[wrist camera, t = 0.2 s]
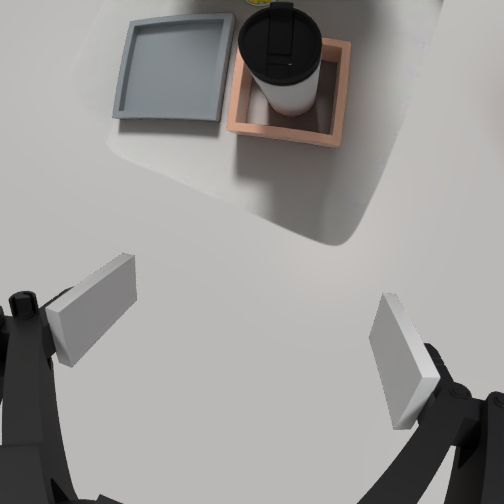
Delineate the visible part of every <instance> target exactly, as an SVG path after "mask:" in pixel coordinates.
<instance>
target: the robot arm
mask: <svg viewBox="0 0 504 504" xmlns="http://www.w3.org/2000/svg"><path fill="white" fill-rule="evenodd" d="M136 301H137V292H136V274H135V255H131V254H125V253H122V254H121V255H119V256H118V257H116V258H115V259H114V260H112V261H110V262H109V263H108V264H106V265H105V266H103V267H102V268H100V269H99V270H97V271H96V272H94V273H93V274H91V275H90V276H89V277H87V278H86V279H84V280H83V281H82V282H80V283H79V284H77V285H76V286H73V287H71V288H68V289H65V290H64V291H63V292H61V293H60V294H59V295H57V296H55V297H54V298H53V299H51V300H50V301H49V302H47V303H46V304H44V305H43V306H42V307H41V308H38V304H37V299H36V294H35V293H33V292H30V291H21V292H17V293H15V294H13V295H12V296H11V297H10V298H9V304H10V308H11V312H12V315H13V316H5V315H4V312H3V309H2V307H1V306H0V404H1V401H2V399H3V405H2V406H3V407H2V445H0V504H122V503H120V502H117V501H115V500H113V499H110V498H108V497H105V496H103V495H101V494H100V495H99V497H98V499H97V500H96V501H95V500H87V499H78V497H77V495H76V493H75V491H74V488H73V485H72V482H71V477H70V474H69V469H68V465H67V460H66V456H65V451H64V446H63V441H62V435H61V429H60V423H59V417H58V410H57V401H56V392H55V382H54V370H53V361H52V358H51V356H52V355H53V354H54V353H55V352H56V354H57V357H58V360H59V363H62V364H64V365H67V366H69V367H71V368H72V367H73V366H74V365H75V364H76V363H77V362H78V361H79V360H80V358H82V357H83V356H84V354H85V353H86V352H87V351H88V350H89V349H90V348H91V347H92V346H93V345H94V344H95V343H96V342H97V341H98V340H99V339H100V338H101V336H102V335H103V334H104V333H105V332H106V331H107V330H108V329H109V328H110V327H111V326H112V325H113V324H114V323H115V322H116V321H117V320H118V319H119V318H120V317H121V316H122V315H123V314H124V313H125V312H126V311H127V310H128V308H129V307H131V306H132V305H133V304H134V302H136ZM369 339H370V343H371V346H372V350H373V353H374V357H375V360H376V363H377V367H378V371H379V374H380V378H381V381H382V385H383V389H384V393H385V396H386V401H387V404H388V409H389V413H390V416H391V421H392V425H393V429H395V430H402V429H411V428H412V426H413V425H414V423H415V421H416V420H418V424H419V426H418V428H417V429H416V431H415V432H414V434H413V435H412V437H411V438H410V440H409V441H408V442H407V444H406V445H405V447H404V448H403V449H402V450H401V452H400V453H399V454H398V456H397V457H396V458H395V460H394V461H393V462H392V464H391V465H390V466H389V467H388V469H387V470H386V471H385V472H384V474H383V475H382V476H381V477H380V478H379V480H378V481H377V482H376V483H375V484H374V485H373V487H372V488H371V489H370V490H369V491H368V492H367V493H366V494H365V495H364V497H363V498H362V499H361V500H360V501H359V502H358V503H357V504H417V502H418V501H419V499H420V498H421V496H422V495H423V493H424V492H425V490H426V489H427V487H428V485H429V484H430V482H431V480H432V479H433V477H434V475H435V474H436V472H437V470H438V468H439V467H440V465H441V463H442V461H443V459H444V458H445V456H446V454H447V452H448V450H449V448H450V446H451V445H453V446H456V450H455V456H454V461H453V467H452V471H451V476H450V481H449V485H448V489H447V494H446V497H445V501H444V504H504V393H501V392H496V391H495V392H491V393H490V394H489V396H488V397H487V399H486V400H480V399H476V398H472V395H471V393H470V391H469V390H468V389H467V388H466V387H465V386H463V385H462V384H459V383H456V382H454V381H453V379H452V377H451V375H450V374H449V371H448V370H447V367H446V366H445V365H444V362H443V360H442V359H441V356H440V355H439V353H438V351H437V350H436V349H435V348H434V347H433V346H432V345H431V344H429V343H423V342H422V340H421V338H420V336H419V334H418V332H417V331H416V329H415V327H414V325H413V323H412V321H411V320H410V318H409V316H408V314H407V312H406V311H405V309H404V307H403V305H402V304H401V302H400V300H399V298H398V297H397V295H396V294H390V293H383V294H382V297H381V301H380V304H379V307H378V311H377V314H376V317H375V320H374V324H373V327H372V330H371V333H370V336H369Z"/></svg>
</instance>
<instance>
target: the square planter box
mask: <svg viewBox="0 0 504 504" xmlns="http://www.w3.org/2000/svg"><path fill="white" fill-rule="evenodd" d="M350 53H351V42H348V41H343V40H337V39H331V38H325V37H322V51H321V55H322V56H321V60H325V61H331V62H337V63H338V64H337V74H336V83H335V92H334V101H333V110H332V118H331V126H330V133H329V135H328V134H322V133H316V132H310V131H303V130H297V129H290V128H282V127H274V126H266V125H257V124H248V123H246V118H247V110H248V103H249V96H250V89H251V81H252V74H251V73H250V71H249V69H248V67H247V65H246V64H245V62H244V61H243V59H242V57H241V55H240V52H239V48H238V49H237V55H236V62H235V68H234V75H233V81H232V88H231V95H230V102H229V110H228V117H227V124H226V130H227V131H230V132H232V133H235V134H238V135H248V136H256V137H265V138H273V139H280V140H287V141H294V142H301V143H307V144H313V145H319V146H325V147H331V148H337V147H339V146H340V144H341V137H342V129H343V121H344V113H345V104H346V95H347V85H348V75H349V64H350Z"/></svg>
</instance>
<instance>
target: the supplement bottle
mask: <svg viewBox="0 0 504 504" xmlns="http://www.w3.org/2000/svg"><path fill="white" fill-rule="evenodd" d="M246 1H247V2H248V3H250V4H252V5H256V6H264V5H268V4H270V2H274V1H275V0H246Z"/></svg>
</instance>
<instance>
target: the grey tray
mask: <svg viewBox="0 0 504 504" xmlns="http://www.w3.org/2000/svg"><path fill="white" fill-rule="evenodd" d="M235 22H236V18H235V17H234V15H233V13H206V14H188V15H176V16H166V17H157V18H149V19H142V20H135V21H130V25H129V29H128V33H127V37H126V42H125V46H124V51H123V56H122V61H121V66H120V71H119V77H118V82H117V88H116V95H115V101H114V108H113V116H112V118H116V119H173V120H196V121H213V122H220V119H221V112H222V104H223V97H224V90H225V84H226V77H227V70H228V64H229V58H230V51H231V45H232V39H233V33H234V28H235Z"/></svg>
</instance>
